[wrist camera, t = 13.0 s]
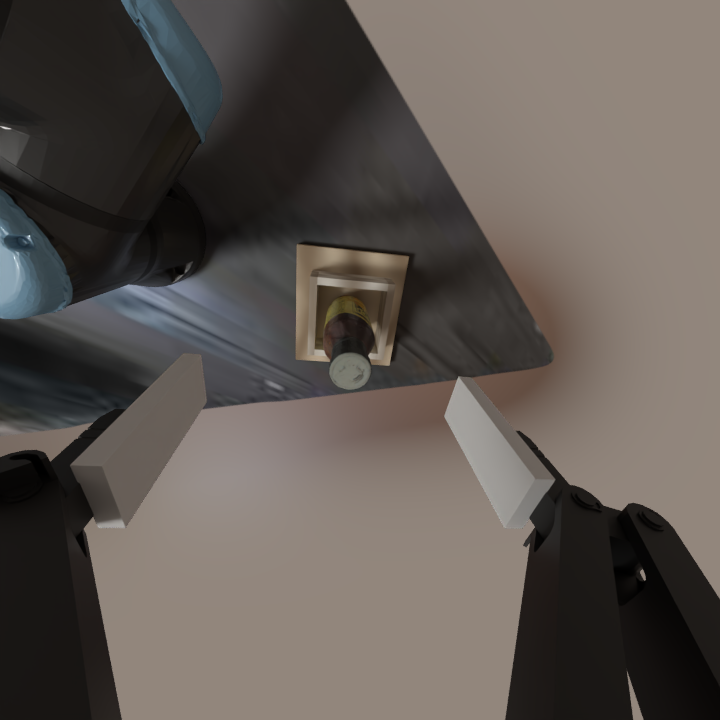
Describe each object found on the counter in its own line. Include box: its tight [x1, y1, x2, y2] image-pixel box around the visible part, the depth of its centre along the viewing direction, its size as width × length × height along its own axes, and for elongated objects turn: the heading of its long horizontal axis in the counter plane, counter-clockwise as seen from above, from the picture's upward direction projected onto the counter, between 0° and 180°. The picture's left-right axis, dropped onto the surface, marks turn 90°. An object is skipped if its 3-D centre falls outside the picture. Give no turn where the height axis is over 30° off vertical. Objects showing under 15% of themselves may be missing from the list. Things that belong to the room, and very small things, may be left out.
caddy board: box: [296, 244, 409, 365], centre depth 43 cm, size 16×18×6 cm
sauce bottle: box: [323, 295, 375, 390], centre depth 35 cm, size 6×6×20 cm
